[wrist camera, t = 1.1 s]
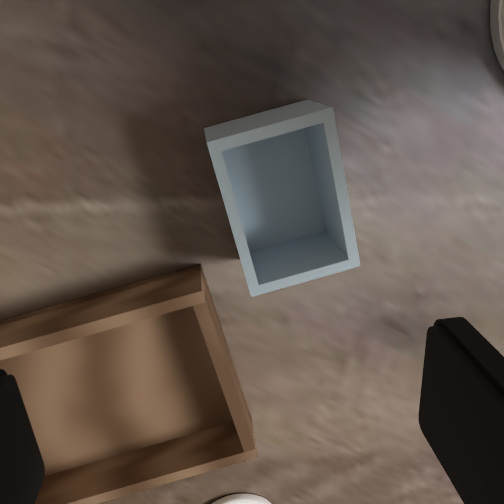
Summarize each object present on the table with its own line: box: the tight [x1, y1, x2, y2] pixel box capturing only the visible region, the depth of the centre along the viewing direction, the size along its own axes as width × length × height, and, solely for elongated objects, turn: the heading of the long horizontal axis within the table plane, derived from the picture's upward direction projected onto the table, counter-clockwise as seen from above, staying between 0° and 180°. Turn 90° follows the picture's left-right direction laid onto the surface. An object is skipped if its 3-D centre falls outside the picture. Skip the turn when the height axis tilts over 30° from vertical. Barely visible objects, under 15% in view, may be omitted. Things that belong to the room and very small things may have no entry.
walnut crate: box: [0, 264, 258, 504], centre depth 32 cm, size 18×14×4 cm
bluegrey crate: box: [204, 99, 360, 297], centre depth 27 cm, size 6×9×6 cm
